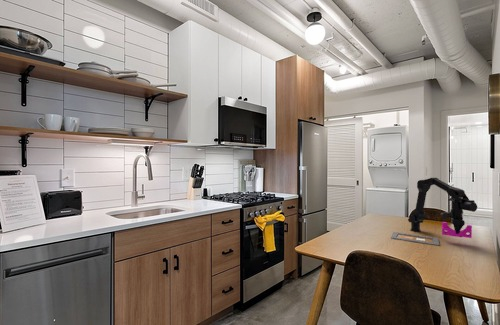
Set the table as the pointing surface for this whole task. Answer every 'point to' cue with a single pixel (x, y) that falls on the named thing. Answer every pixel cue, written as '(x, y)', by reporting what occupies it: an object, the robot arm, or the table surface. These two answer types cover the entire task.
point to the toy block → (453, 233)
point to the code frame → (435, 240)
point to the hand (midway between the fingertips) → (456, 232)
